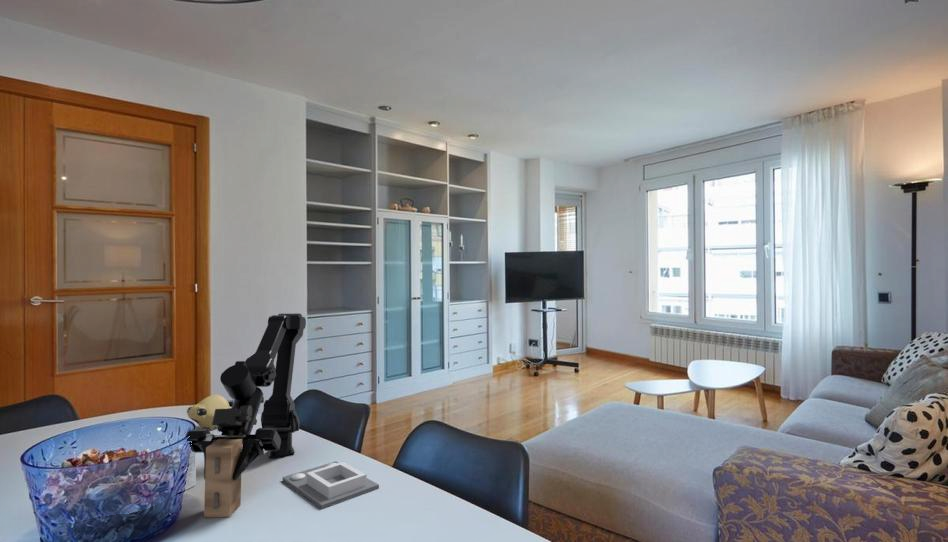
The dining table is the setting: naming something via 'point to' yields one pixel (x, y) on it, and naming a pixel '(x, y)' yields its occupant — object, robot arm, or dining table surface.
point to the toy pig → (207, 410)
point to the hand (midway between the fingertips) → (219, 479)
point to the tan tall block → (222, 478)
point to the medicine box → (191, 472)
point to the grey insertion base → (330, 483)
